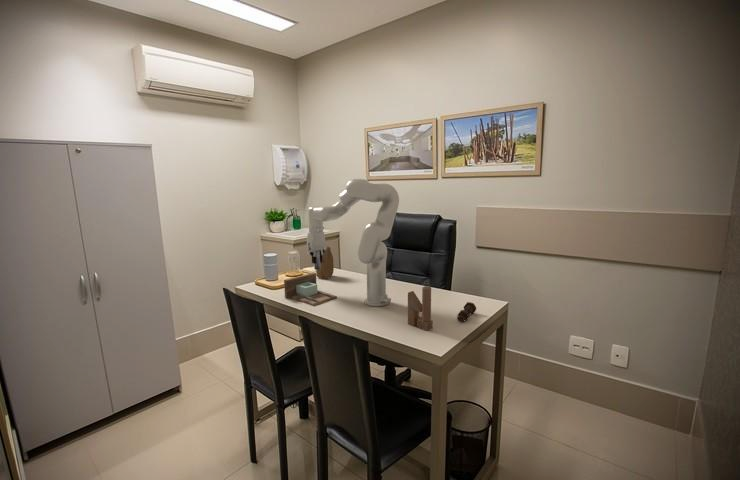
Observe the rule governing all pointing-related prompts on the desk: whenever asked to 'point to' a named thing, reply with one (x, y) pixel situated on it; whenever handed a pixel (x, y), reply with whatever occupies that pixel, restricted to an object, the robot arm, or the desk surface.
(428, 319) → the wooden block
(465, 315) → the dumbbell
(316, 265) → the peg
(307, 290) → the teal square socket
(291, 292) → the backstop board
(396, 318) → the desk surface
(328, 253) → the brown tall rounded block
